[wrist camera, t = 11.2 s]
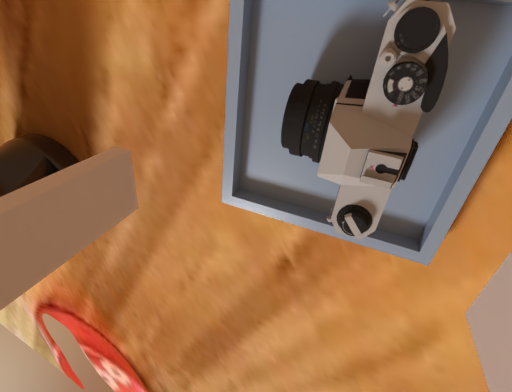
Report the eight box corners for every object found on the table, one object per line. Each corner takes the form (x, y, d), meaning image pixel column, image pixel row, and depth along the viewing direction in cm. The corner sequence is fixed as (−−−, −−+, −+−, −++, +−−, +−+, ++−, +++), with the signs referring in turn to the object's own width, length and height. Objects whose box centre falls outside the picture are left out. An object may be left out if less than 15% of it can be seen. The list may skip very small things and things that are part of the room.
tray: (232, 190, 29) (221, 202, 27) (246, -34, 20) (231, -41, 18) (425, 247, 25) (428, 265, 23) (563, -13, 15) (589, -20, 13)
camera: (314, -6, 19) (263, -7, 12) (451, -2, 16) (486, 0, 9) (294, 170, 26) (255, 232, 19) (386, 190, 24) (379, 269, 17)
